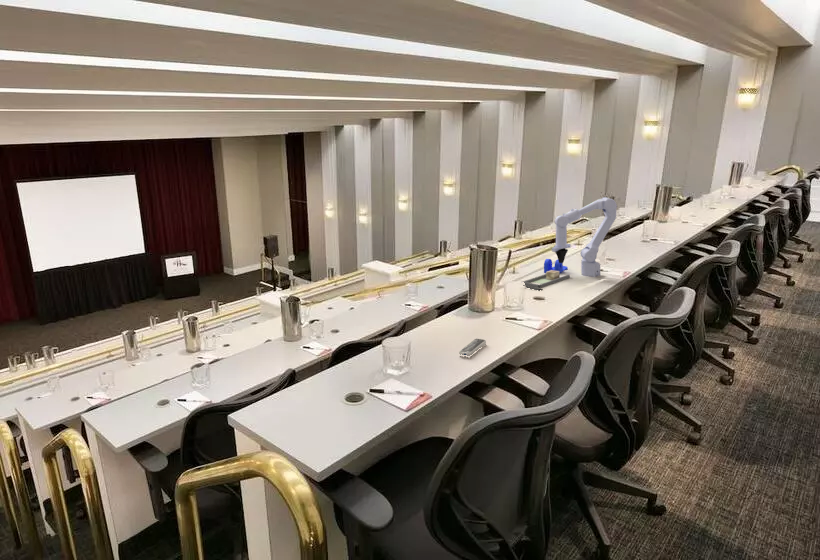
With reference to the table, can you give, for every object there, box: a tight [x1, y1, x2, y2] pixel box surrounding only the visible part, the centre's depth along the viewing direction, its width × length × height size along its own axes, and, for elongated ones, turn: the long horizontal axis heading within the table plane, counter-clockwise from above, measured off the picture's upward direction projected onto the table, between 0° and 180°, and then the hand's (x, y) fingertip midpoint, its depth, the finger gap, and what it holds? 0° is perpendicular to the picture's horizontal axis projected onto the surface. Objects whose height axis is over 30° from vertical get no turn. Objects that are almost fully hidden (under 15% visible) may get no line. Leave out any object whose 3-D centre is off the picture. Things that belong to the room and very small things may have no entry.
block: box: [545, 270, 561, 280], centre depth 283 cm, size 5×5×4 cm
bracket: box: [543, 258, 568, 274], centre depth 301 cm, size 18×8×9 cm, turn 144°
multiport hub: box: [458, 338, 487, 356], centre depth 196 cm, size 4×14×2 cm, turn 148°
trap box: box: [522, 273, 571, 292], centre depth 279 cm, size 12×27×3 cm, turn 130°
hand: (561, 262), depth 286 cm, fingers closed
